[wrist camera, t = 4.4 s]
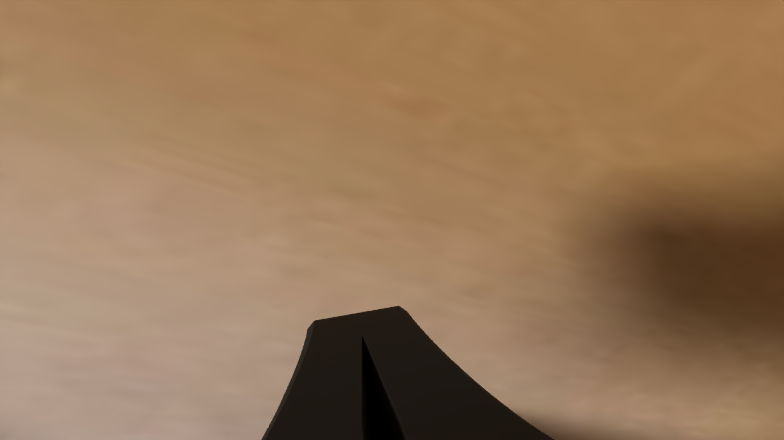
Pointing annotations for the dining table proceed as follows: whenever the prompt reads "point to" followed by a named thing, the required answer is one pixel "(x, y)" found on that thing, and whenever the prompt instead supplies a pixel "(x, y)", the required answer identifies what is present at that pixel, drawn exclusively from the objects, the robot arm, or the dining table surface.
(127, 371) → the dining table surface
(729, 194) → the dining table surface
